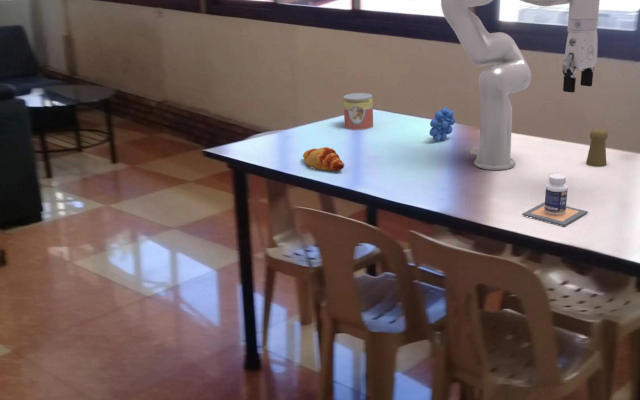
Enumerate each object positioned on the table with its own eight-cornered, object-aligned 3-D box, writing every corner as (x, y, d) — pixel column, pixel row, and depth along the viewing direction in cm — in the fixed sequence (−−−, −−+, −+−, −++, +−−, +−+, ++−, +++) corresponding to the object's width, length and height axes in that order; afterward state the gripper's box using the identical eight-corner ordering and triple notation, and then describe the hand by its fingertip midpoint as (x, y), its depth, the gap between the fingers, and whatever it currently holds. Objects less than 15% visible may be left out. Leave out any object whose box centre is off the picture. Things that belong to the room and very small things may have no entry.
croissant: (298, 171, 249) (287, 153, 245) (318, 152, 253) (308, 134, 248) (337, 184, 233) (326, 165, 229) (358, 164, 236) (348, 144, 232)
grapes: (445, 135, 270) (446, 103, 266) (459, 138, 265) (459, 106, 261) (421, 141, 264) (422, 108, 260) (434, 145, 259) (435, 111, 255)
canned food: (342, 130, 284) (341, 99, 279) (346, 122, 294) (345, 93, 290) (371, 130, 282) (371, 99, 278) (374, 122, 292) (374, 92, 288)
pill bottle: (562, 216, 190) (565, 180, 186) (541, 213, 192) (543, 177, 189) (568, 210, 194) (570, 174, 190) (547, 206, 196) (549, 172, 193)
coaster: (522, 215, 193) (522, 213, 193) (545, 203, 201) (546, 201, 201) (564, 226, 185) (564, 224, 185) (587, 213, 193) (587, 211, 193)
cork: (607, 166, 228) (611, 132, 224) (587, 166, 229) (590, 132, 226) (604, 161, 234) (608, 127, 230) (584, 160, 235) (587, 127, 231)
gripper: (579, 30, 190) (574, 96, 195) (611, 22, 201) (605, 85, 207) (553, 28, 195) (549, 92, 201) (584, 21, 206) (580, 82, 212)
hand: (577, 88), depth 204 cm, fingers open, 9 cm apart
